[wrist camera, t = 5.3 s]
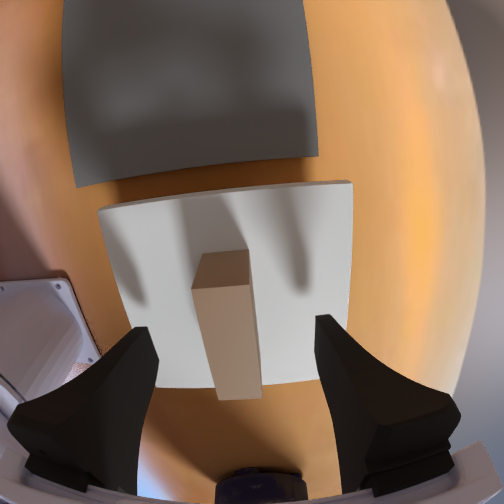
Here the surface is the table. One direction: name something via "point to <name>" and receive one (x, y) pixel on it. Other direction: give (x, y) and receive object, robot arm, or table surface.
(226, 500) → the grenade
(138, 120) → the mat
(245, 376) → the lid
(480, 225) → the table surface
